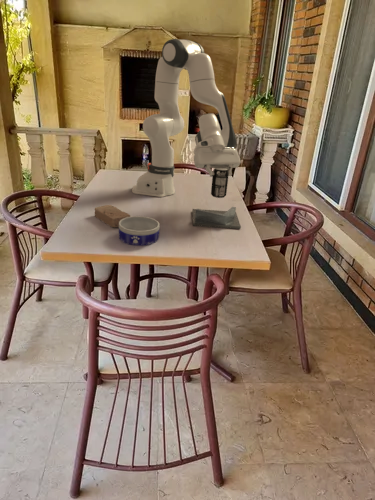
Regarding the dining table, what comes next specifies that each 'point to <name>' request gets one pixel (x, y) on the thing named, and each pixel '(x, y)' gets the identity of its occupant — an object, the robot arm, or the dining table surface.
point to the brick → (110, 215)
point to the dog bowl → (139, 230)
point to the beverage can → (219, 182)
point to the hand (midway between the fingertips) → (221, 175)
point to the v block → (216, 218)
